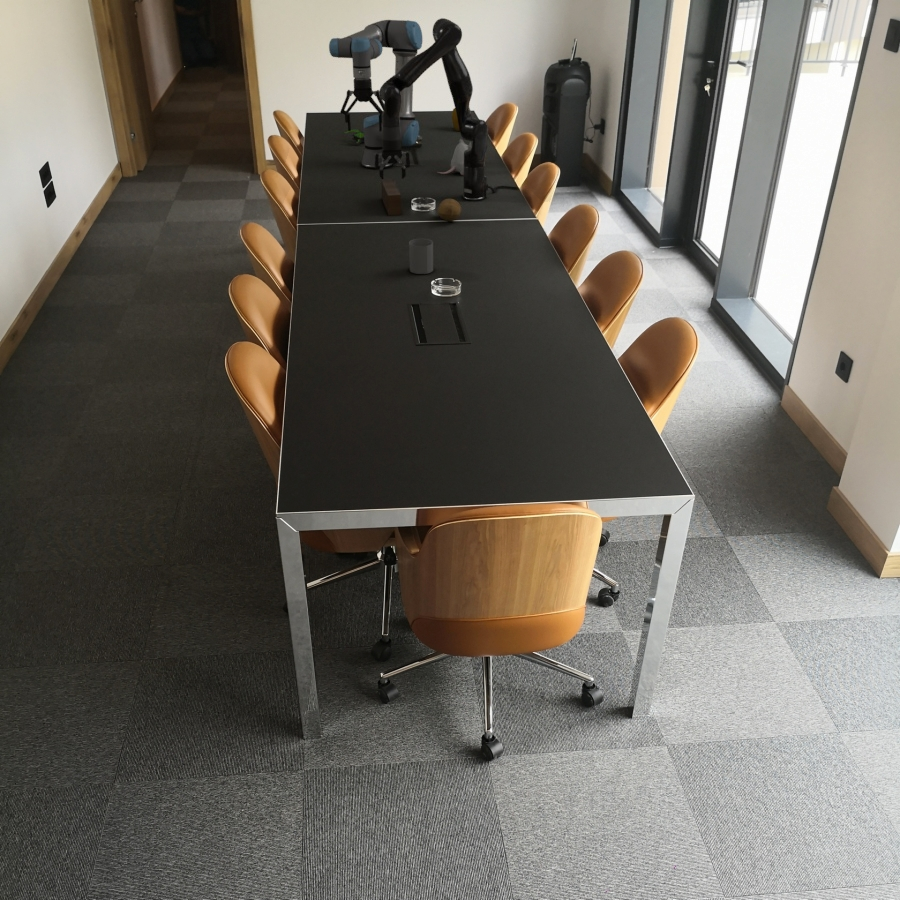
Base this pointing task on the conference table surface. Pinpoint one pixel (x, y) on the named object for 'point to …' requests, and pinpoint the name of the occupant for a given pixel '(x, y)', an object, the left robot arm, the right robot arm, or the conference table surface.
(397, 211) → the bar
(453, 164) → the toy
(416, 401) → the conference table surface
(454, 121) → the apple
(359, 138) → the green dinosaur figurine
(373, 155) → the left robot arm
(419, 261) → the cup
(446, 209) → the potato
